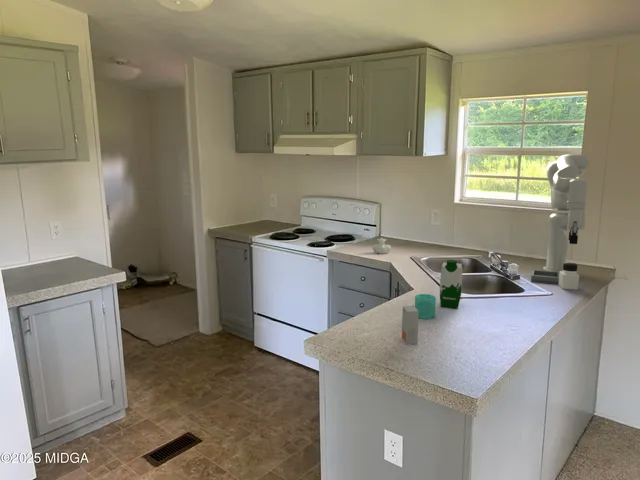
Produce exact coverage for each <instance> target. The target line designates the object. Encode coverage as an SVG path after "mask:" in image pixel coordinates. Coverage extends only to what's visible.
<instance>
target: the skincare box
mask: <svg viewBox="0 0 640 480" xmlns="http://www.w3.org/2000/svg"><path fill="white" fill-rule="evenodd" d="M401 318H402V320H401V324H402V325H401V339H402V340H403V342H404V344H405V345H417V344H418V336H419V334H418V333H419V318H418V310H417V309H416V308H415V305H403V306H402V317H401Z"/></svg>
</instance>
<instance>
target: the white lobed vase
mask: <svg viewBox="0 0 640 480" xmlns="http://www.w3.org/2000/svg"><path fill="white" fill-rule="evenodd" d="M376 240H377V242H378V243H377V244H373V245H372V250H373V252H374V253H377V254H379V255H383V254H389V253H390V252H391V249H392V246H391V245H390V244H386V242H387V238H384V237H380V238H377V239H376Z"/></svg>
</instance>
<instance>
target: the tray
mask: <svg viewBox="0 0 640 480" xmlns="http://www.w3.org/2000/svg"><path fill="white" fill-rule="evenodd" d="M559 273H560V272H552V271H545V270H542V269H541V270H539V269H532V271H531V277H530V279H531V280H530V281H531V282H535V283H544V284H553V285H554V284H555V285H558V283H559Z"/></svg>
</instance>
